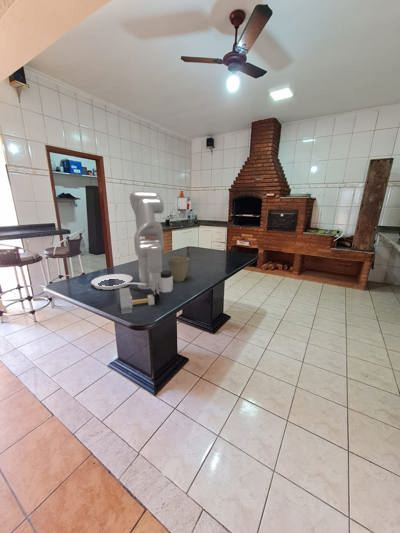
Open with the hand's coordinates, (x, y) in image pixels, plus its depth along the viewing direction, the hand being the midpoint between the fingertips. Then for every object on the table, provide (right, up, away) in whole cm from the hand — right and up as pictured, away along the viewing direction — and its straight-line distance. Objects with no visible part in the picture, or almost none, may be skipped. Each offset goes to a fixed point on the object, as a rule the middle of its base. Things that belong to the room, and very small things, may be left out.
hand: (156, 300), depth 122 cm
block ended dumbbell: (-9, -2, -3) cm, 10 cm away
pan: (-28, +5, +24) cm, 37 cm away
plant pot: (+9, +9, +37) cm, 39 cm away
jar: (+2, +4, +18) cm, 19 cm away
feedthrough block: (-15, -3, -5) cm, 16 cm away
